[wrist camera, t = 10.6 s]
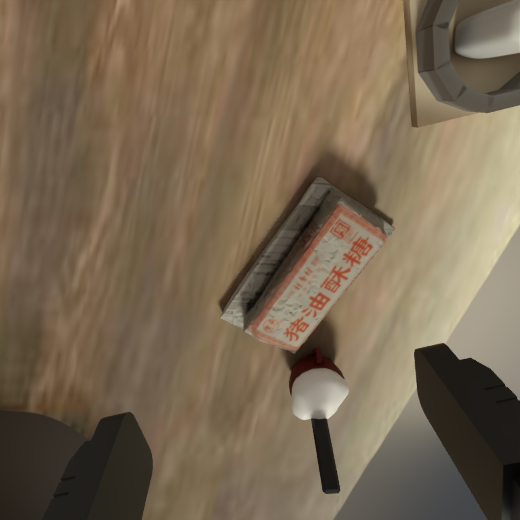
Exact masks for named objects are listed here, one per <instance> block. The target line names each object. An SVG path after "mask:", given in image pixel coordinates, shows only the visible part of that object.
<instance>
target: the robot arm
mask: <svg viewBox="0 0 520 520" xmlns="http://www.w3.org/2000/svg"><path fill="white" fill-rule="evenodd" d="M414 358H415V370H416V381H417V392H418V397H419V400H420V404H421V407H422V409H423V411H424V413H425V415H426V417H427V419H428V420H429V422H430V424H431V425H432V427H433V429H434V430H435V432H436V434H437V435H438V437H439V439H440V441H441V442H442V444H443V446H444V447H445V449H446V451H447V452H448V454H449V455H450V457H451V459H452V461H453V462H454V464H455V466H456V467H457V469H458V471H459V472H460V474H461V476H462V477H463V479H464V481H465V483H466V484H467V486H468V487H469V489H470V491H471V493H472V494H473V496H474V498H475V499H476V501H477V503H478V504H479V506H480V508H481V509H482V511H483V513H484V514H485V516H486V518H487V519H488V520H520V401H519V400H518V399H517V397H516V395H515V394H514V393H513V392H512V391H511V390H510V389H509V388H508V387H506V386H505V384H504V383H503V382H502V381H501V379H499V377H497V375H496V374H495V373H494V372H493V371H492V370H491V369H490V368H488V367H486V366H484V365H482V364H481V363H479V362H477V361H476V360H474V359H472V358H467V359H462V360H459V359H458V358H457V357H456V355H455V354H454V353H453V352H452V351H451V350H450V348H449V347H448V346H447V345H446V344H444V343H441V344H436V345H432V346H427V347H423V348H418V349H415V352H414ZM152 470H153V460H152V454H151V450H150V448H149V446H148V444H147V441H146V439H145V437H144V435H143V433H142V431H141V429H140V427H139V425H138V423H137V421H136V419H135V417H134V415H133V414H132V413H131V412H127V413H122V414H118V415H113V416H109V417H104V418H102V419H101V420H100V422H99V423H98V426H97V428H96V430H95V433H94V435H93V437H92V440H90V441H86V442H84V443H83V445H82V446H81V447H80V448H79V449H78V451H77V452H76V453H75V454H74V456H73V457H72V458H71V459H70V461H69V463H68V465H67V467H66V469H65V472H64V474H63V476H62V478H61V483H59V485H58V487H57V489H56V491H55V493H54V495H53V496H54V499H52V500H51V502H50V504H49V506H48V508H47V510H46V512H45V514H44V517H43V519H42V520H141V519H142V515H143V511H144V506H145V502H146V498H147V493H148V489H149V485H150V480H151V476H152Z"/></svg>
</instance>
